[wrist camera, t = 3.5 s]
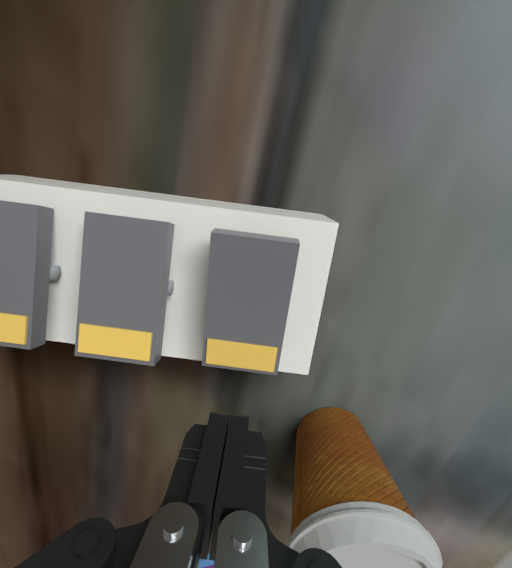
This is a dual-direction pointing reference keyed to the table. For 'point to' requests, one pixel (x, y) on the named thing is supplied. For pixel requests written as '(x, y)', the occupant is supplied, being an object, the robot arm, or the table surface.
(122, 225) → the block
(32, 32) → the table surface
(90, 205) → the console
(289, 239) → the rocker
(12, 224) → the rocker
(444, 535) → the table surface
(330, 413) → the disposable coffee cup
